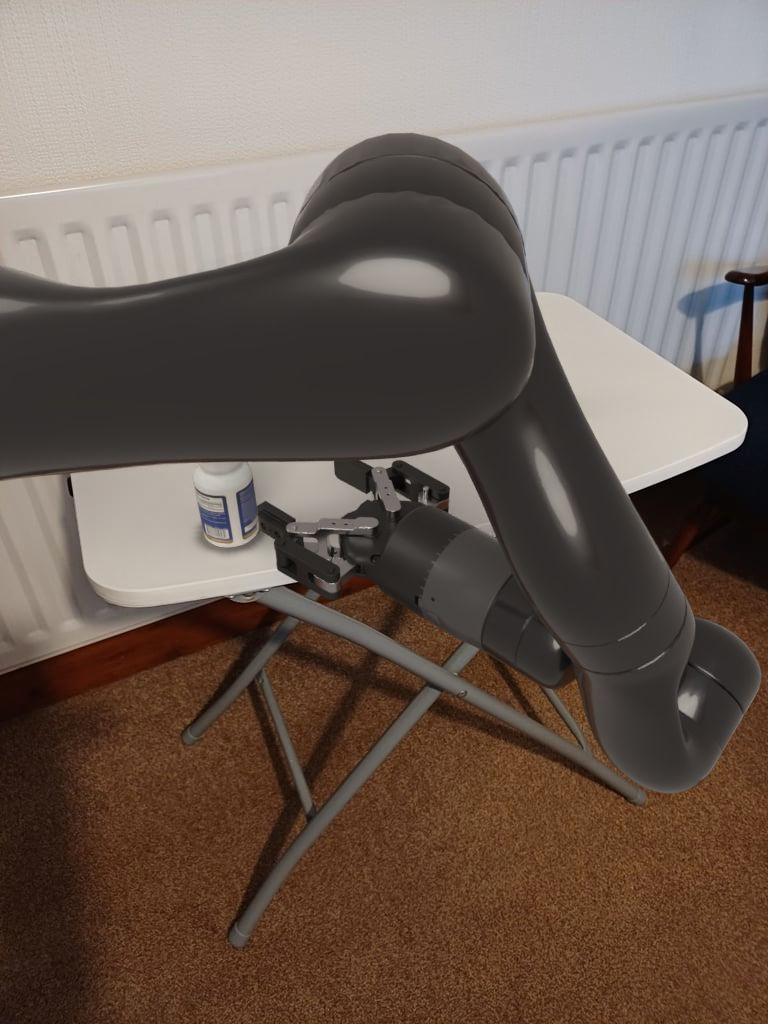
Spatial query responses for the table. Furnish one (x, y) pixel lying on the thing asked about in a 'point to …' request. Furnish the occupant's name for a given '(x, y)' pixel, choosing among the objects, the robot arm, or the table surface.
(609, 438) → the table surface
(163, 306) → the robot arm
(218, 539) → the pill bottle
